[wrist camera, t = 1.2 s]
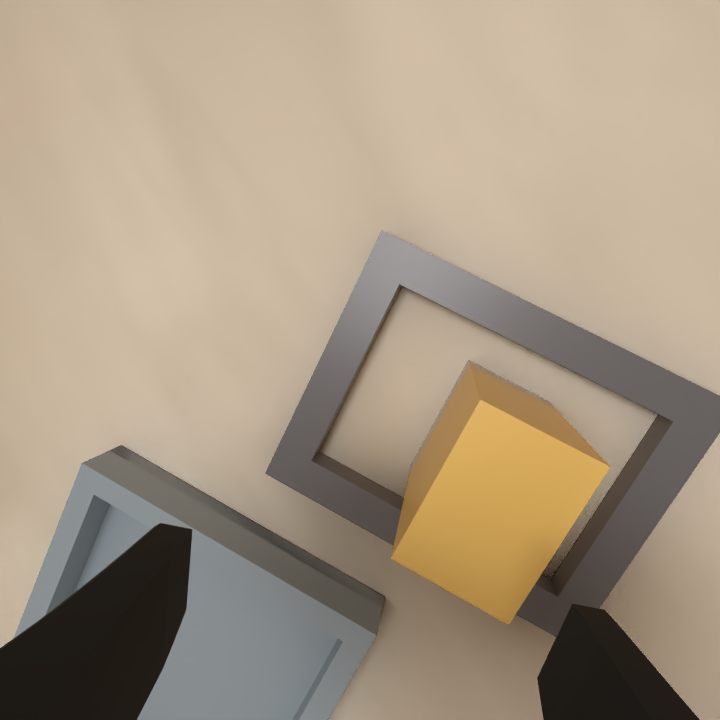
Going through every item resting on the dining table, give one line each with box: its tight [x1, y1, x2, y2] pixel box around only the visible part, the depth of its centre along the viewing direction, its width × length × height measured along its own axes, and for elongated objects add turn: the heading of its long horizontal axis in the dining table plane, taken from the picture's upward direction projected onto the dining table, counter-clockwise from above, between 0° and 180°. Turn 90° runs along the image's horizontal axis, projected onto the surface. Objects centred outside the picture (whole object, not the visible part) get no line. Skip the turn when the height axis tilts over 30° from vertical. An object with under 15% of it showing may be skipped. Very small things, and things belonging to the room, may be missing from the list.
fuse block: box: [391, 360, 610, 625], centre depth 16 cm, size 4×5×8 cm
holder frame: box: [265, 230, 720, 637], centre depth 19 cm, size 14×11×1 cm
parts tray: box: [14, 446, 385, 720], centre depth 23 cm, size 14×15×2 cm
